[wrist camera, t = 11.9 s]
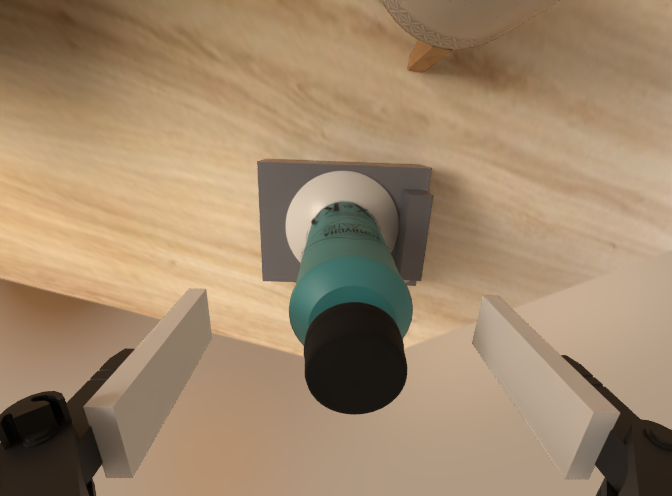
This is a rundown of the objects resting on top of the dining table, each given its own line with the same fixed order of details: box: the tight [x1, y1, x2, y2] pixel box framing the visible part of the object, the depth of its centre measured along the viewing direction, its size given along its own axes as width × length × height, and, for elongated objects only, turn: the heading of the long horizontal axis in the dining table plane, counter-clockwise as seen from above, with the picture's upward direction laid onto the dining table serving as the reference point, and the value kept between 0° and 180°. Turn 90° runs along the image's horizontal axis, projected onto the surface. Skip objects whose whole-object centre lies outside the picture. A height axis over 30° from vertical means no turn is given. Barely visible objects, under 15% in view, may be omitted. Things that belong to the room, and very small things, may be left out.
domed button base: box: [257, 159, 433, 286], centre depth 31 cm, size 16×12×7 cm
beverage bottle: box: [289, 200, 413, 414], centre depth 21 cm, size 6×7×20 cm
